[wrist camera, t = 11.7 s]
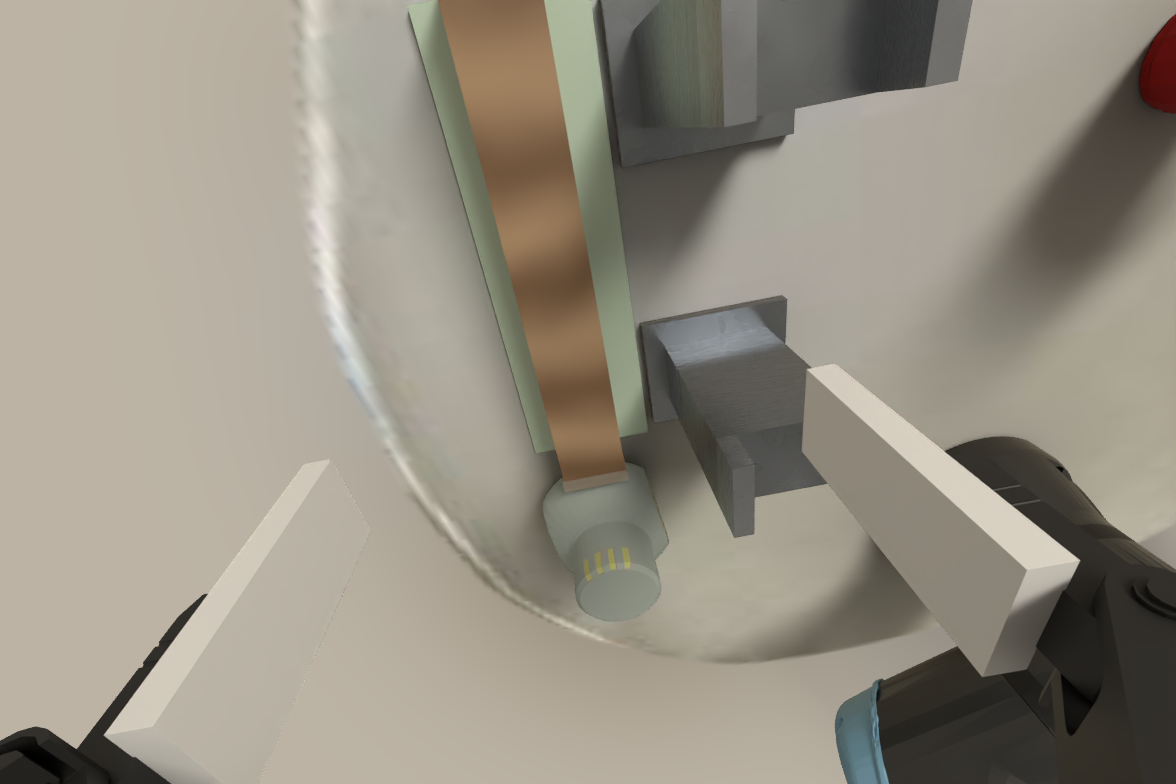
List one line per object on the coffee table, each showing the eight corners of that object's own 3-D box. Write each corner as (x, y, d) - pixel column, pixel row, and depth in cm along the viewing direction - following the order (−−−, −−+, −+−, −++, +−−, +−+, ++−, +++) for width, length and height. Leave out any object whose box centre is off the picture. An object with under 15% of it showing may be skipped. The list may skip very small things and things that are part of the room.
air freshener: (534, 463, 38) (531, 562, 29) (631, 431, 37) (657, 523, 29) (578, 550, 43) (587, 656, 35) (664, 524, 43) (695, 625, 34)
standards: (778, 393, 37) (900, 531, 24) (652, 417, 37) (708, 567, 24) (793, -45, 24) (1072, -238, 11) (599, -5, 24) (660, -152, 11)
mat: (647, 429, 37) (648, 432, 37) (535, 450, 37) (535, 453, 37) (585, -29, 23) (586, -31, 23) (409, 7, 23) (407, 6, 23)
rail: (619, 442, 37) (628, 480, 33) (562, 453, 37) (564, 492, 33) (535, -41, 23) (533, -78, 19) (442, -22, 23) (420, -54, 19)
